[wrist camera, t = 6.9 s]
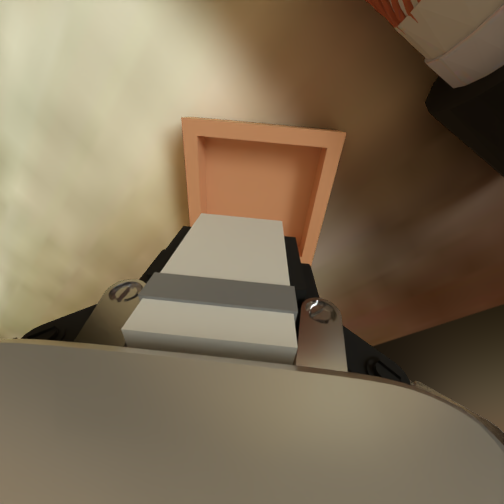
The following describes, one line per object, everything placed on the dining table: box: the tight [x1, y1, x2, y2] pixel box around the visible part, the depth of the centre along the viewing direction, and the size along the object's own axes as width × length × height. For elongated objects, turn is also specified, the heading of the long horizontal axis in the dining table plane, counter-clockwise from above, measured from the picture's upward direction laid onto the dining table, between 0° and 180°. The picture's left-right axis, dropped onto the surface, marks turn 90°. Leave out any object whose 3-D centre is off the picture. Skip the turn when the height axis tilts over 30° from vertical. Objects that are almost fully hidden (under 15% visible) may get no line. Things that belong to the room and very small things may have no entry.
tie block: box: [121, 213, 298, 365], centre depth 9 cm, size 4×4×7 cm
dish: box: [181, 117, 346, 266], centre depth 19 cm, size 11×11×3 cm
